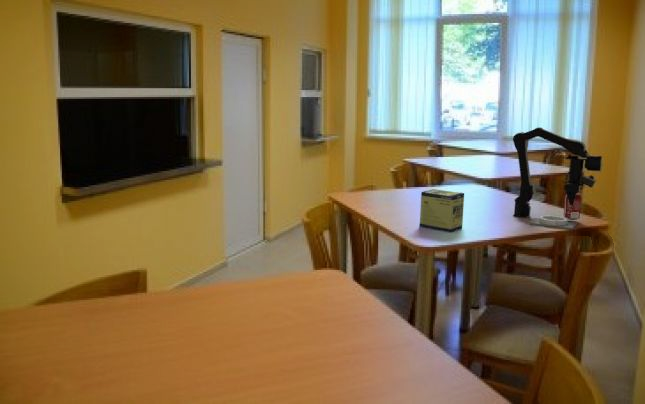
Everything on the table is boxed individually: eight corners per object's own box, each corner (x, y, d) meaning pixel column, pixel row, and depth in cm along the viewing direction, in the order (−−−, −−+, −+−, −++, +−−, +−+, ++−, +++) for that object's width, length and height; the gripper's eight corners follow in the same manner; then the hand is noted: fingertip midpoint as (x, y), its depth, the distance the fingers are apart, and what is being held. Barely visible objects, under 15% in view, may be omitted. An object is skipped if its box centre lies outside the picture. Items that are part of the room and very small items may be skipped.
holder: (529, 224, 261) (529, 218, 260) (534, 219, 271) (535, 213, 271) (572, 229, 252) (573, 223, 252) (576, 224, 262) (577, 218, 262)
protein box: (451, 232, 244) (453, 196, 241) (418, 226, 254) (420, 191, 251) (463, 228, 252) (465, 192, 249) (431, 223, 262) (432, 188, 259)
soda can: (580, 220, 264) (583, 194, 261) (564, 220, 265) (567, 193, 263) (577, 217, 270) (580, 192, 268) (562, 216, 272) (564, 191, 269)
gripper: (593, 173, 251) (589, 209, 254) (597, 168, 267) (594, 202, 270) (565, 171, 257) (562, 206, 260) (571, 166, 273) (568, 199, 276)
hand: (572, 203), depth 266 cm, fingers closed on soda can, 7 cm apart
